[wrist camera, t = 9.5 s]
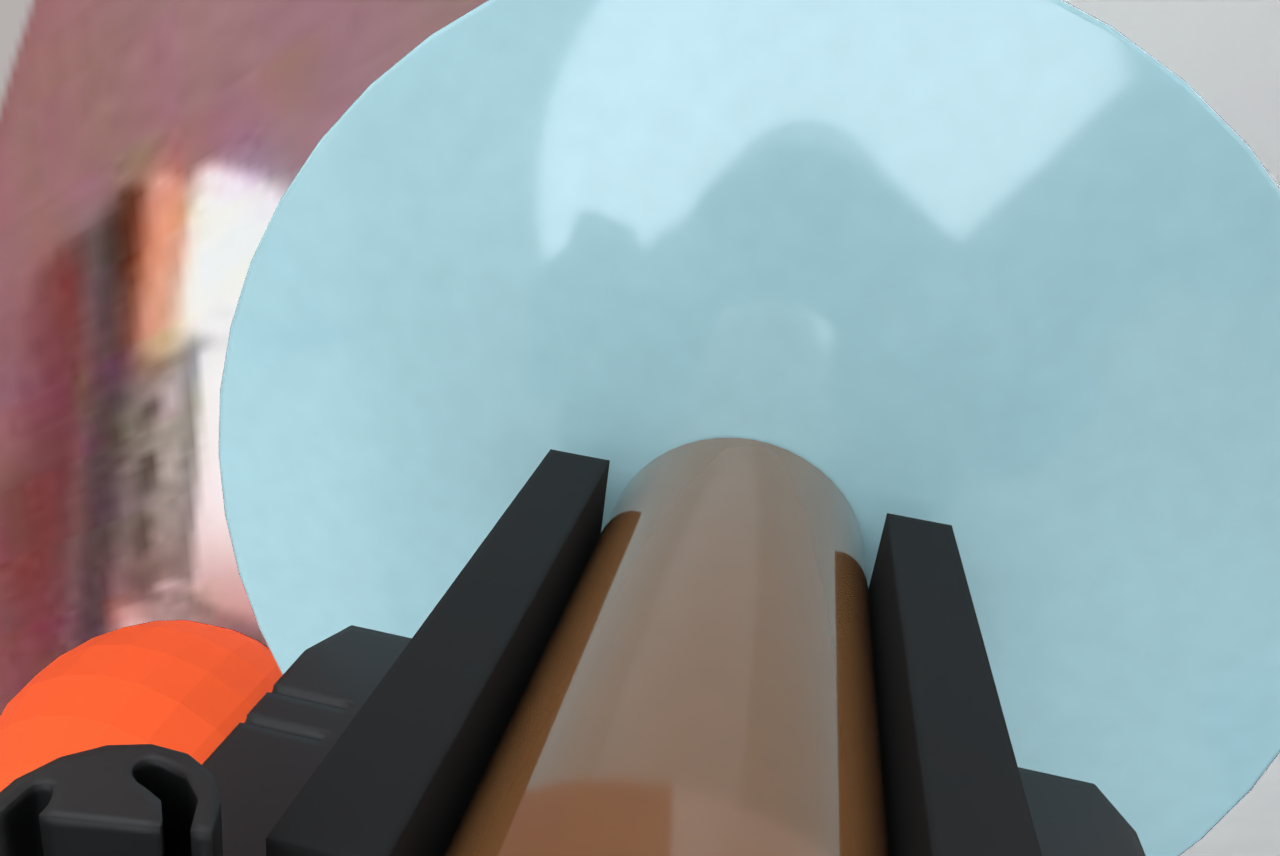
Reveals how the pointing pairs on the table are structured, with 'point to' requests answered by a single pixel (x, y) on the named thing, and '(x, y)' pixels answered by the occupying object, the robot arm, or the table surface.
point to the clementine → (137, 694)
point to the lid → (783, 400)
